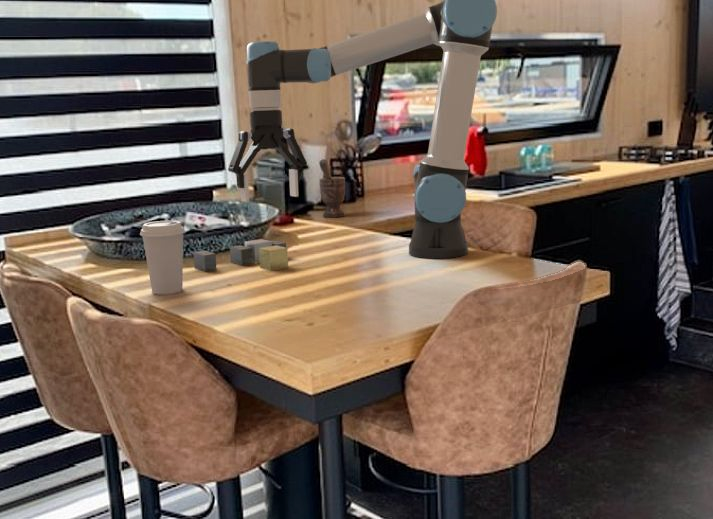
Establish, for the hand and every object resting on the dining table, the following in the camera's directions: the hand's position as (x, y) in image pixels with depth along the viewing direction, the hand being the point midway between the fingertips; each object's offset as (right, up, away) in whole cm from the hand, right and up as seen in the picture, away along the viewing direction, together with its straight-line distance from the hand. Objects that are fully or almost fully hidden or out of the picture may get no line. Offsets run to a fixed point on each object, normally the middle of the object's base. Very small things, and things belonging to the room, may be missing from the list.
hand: (270, 199), depth 204 cm
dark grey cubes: (-8, -15, +10) cm, 20 cm away
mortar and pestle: (+13, 0, +83) cm, 84 cm away
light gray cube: (-4, -15, +13) cm, 20 cm away
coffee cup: (-21, -22, -18) cm, 35 cm away
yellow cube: (+1, -17, +3) cm, 17 cm away
